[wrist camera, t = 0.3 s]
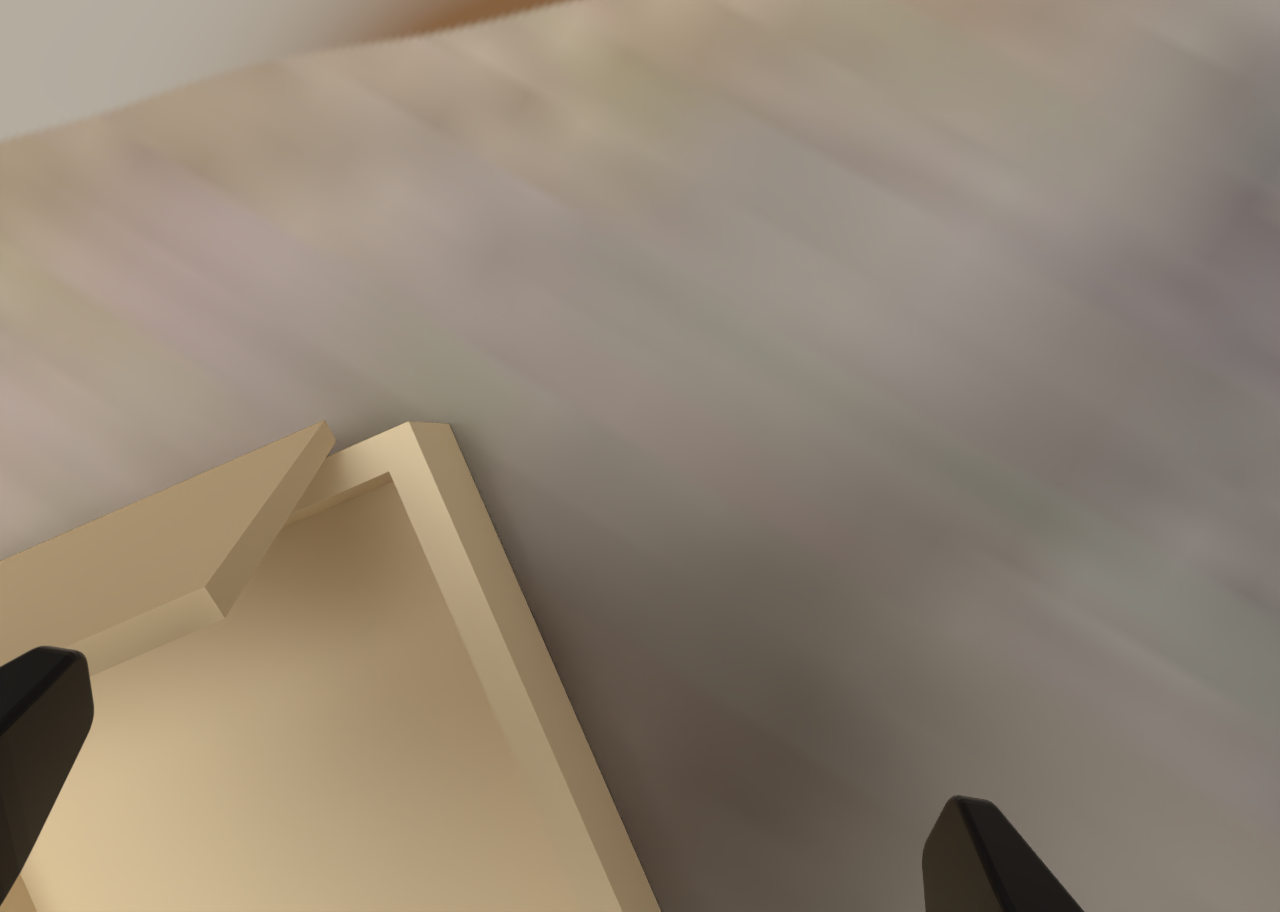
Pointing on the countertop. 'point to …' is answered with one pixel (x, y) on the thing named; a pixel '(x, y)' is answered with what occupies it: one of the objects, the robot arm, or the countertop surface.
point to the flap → (157, 559)
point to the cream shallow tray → (346, 730)
